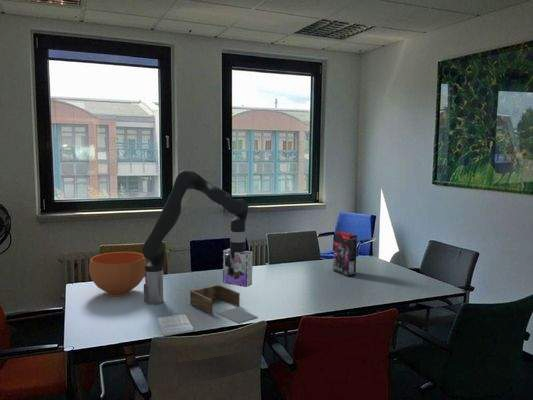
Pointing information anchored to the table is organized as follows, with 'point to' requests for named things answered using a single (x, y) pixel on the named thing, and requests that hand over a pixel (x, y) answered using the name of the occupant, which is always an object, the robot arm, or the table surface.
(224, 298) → the walnut u-shaped frame
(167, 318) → the calculator
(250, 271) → the candy box
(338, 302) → the table surface
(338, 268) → the graphics card box
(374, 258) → the table surface
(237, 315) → the slate mat
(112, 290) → the bowl
